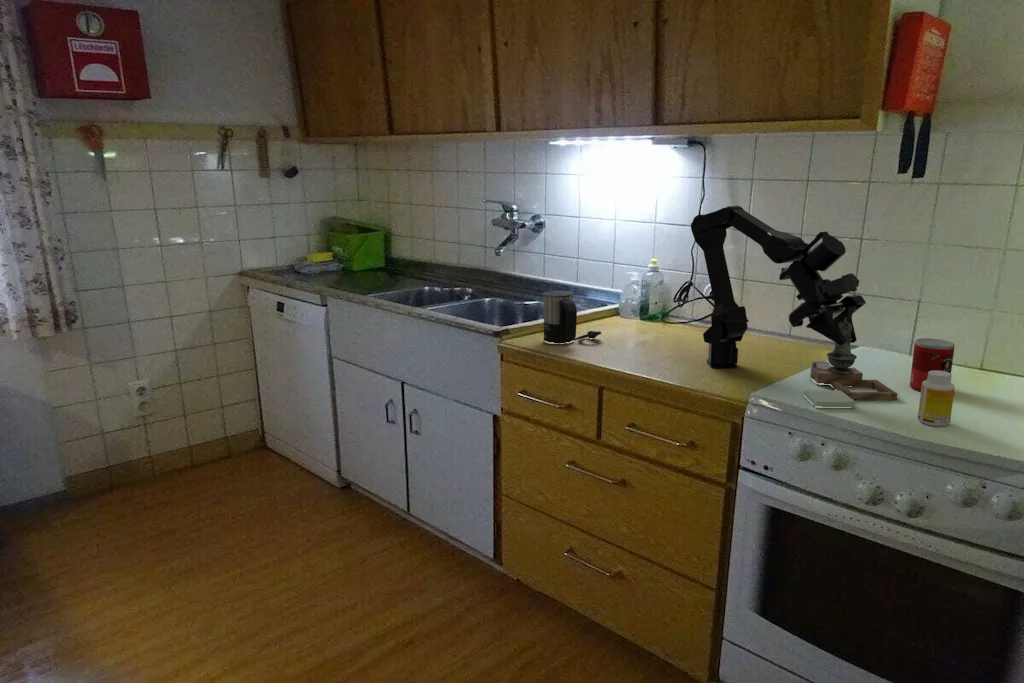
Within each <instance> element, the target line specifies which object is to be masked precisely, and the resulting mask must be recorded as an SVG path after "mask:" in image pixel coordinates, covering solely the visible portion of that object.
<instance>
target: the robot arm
mask: <svg viewBox="0 0 1024 683" xmlns="http://www.w3.org/2000/svg"><path fill="white" fill-rule="evenodd" d="M732 227H733V228H734V229H735V230H737V231H738V232H740V233H741V234H744V235H745V236H746V237H747V238H749V239H751V240H752V241H753V242H755V243H756V244H758V245H759V246H760V247H761V248H762V251H763V253H764V255H765V256H766V257H767V258H768V259H769V260H770V261H772V262H773V263H774V264H787V263H788V264H789V263H791V264H790V265H788V266H787V267H782V268H781V270H780V271H781V272H780V274H779V277H778V278H779V280H780V281H785V280H790V282H792V284H793V286H794V288H795V290H796V291H797V293H798V294H797V295H796V296H795V297H796V298H797V301H800V300H803V302H802V303H800V304H799V305H798V306H797V307H796V308H795V309H793V310H792V311H791V312H790V313H789V314H788V322H789V324H790V325H791V327H792V328H796V327H801V326H803V325H804V319H807V318H808V321H809V323H808V324H806V325H805V327H806V328H807V329H811V330H813V331H815V332H817V333H818V334H820V335H822V336H824V337H826V338H827V339H829V340H830V341H832V342H834V344H835V343H837V344H839V345H843V344H844V343H845V342H844V340H843V338H842V336H841V334H840V332H839V330H838V328H837V326H838V323H840V322H842V321H844V318H845V317H846V318H847V320H846V321H848V322H849V323H851V324H852V331H851V338H852V339H853V340H851V344H854V343H855V342H857V340H858V339H857V335H856V332H855V327H854V323H853V314H854V313H856V312H857V311H858V310H859V309H861V308H862V307H863V306H864V305H865V304H866V300H865V299H864V297H863V296H862V295H861V294H852V295H846V296H845V297H844V296H843V295H845V294H847V293H850V292H852V293H853V292H856V291H858V287H859V283H860V280H859V279H858V277H856V275H855V274H854V273H847V274H845V275H843V274H842V276H841V277H839V278H836V279H833V280H831V279H828V278H826V279H823V277H822V276H821V274H820V273H819V272H826V271H827V270H828V269H829V268H831V267H832V266H833V265H834V264H835V263H836V262H838V260H839V259H840V258H842V256H844V255H845V253H846V252H847V250H846V247H845V244H844V242H842V241H841V240H839V239H838V238H836V237H834V236H832V235H830V234H829V232H828V231H820V232H819V233H817V235H816V236H815V238H813V239H812V241H811V242H810V243H807V242H805V240H803V239H802V238H801V237H799V236H797V235H794V234H791V233H790V232H789V233H788V232H783V231H779V230H777V229H775V228H773V227H772V226H770V225H769V224H767V223H765V222H764V221H762V220H760V219H759V218H757V217H755V216H754V215H752V214H751V213H749V212H748V211H746V210H744V208H743V207H742V206H739V205H729V206H728V205H727V206H724V207H723V208H720V209H718V210H715V211H711V212H709V213H706V214H697V215H696V216H695V217H694V218H693V219H692V222H691V223H690V230H691V233H692V236H693V239H694V241H695V243H696V244H697V245H698V246H699V247H700V248H701V251H703V255H704V261H705V265H706V271H707V275H708V279H709V286H710V290H711V293H712V299H713V304H714V307H713V309H712V313H711V316H710V320H711V325H710V326H709V327H708V328H707V329H706V331H704V332H703V334H702V337H703V342H705V343H707V344H708V353H707V354H708V355H707V359H706V363H707V364H708V365H709V366H710V368H713V369H716V368H719V369H720V368H723V369H724V368H727V369H728V368H729V369H730V368H732V369H734V368H735V369H736V368H737V367H738V365H737V364H738V358H739V357H738V356H739V348H738V347H737V343H738V342H741V341H742V339H743V337H744V334H745V333H746V331H747V330H748V323H749V322H750V321H749V319H748V317H747V310H746V307H745V305H744V306H743V305H742V306H739V305H738V303H737V302H736V301H735V297H734V292H733V288H732V287H733V286H732V283H731V282H732V281H731V277H730V274H729V267H728V264H727V259H726V255H725V248H724V244H725V242H726V238H727V230H728V229H731V228H732ZM838 301H839V302H838Z"/></svg>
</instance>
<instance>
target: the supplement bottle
mask: <svg viewBox="0 0 1024 683" xmlns="http://www.w3.org/2000/svg"><path fill="white" fill-rule="evenodd" d="M955 386H956V385H955V384H954V383H953V382H952V372H951V373H948V372H945V371H936V370H934V371H929V372H928V376H927V380H925V381H923V382H922V388H921V392H920V397H919V406H918V412H917V413H918V414H917V419H918V421H919V422H920V423H922V424H924V425H927V426H933V427H947V426H948V425H950V423H951V417H952V411H953V410H952V409H953V405H954V404H953V403H954V396H955V395H954V394H955V389H956V388H955Z"/></svg>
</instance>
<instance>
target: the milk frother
mask: <svg viewBox="0 0 1024 683" xmlns="http://www.w3.org/2000/svg"><path fill="white" fill-rule="evenodd" d="M541 294H542V296H543V297H542V298H543V300H542V301H543V305H542V306H543V340H545V341H548V342H554V343H565V342H570V341H572V340H574V341H578V340H582V339H586V338H588V339H589V338H594V339H595V338H596V337H598V336H599V335H602V332H601V331H597V330H596V331H595V330H589V331H587V333H586V334H584V335H580V336H578V337H576V336H577V322H578V321H577V318H578V317H577V315H578V311H577V306H576V303H575V302H574V298H573V296H574V294H575V293H574V292H573V291H569V290H568V291H567V290H550V291H545V292H542V293H541Z"/></svg>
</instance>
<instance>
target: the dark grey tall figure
mask: <svg viewBox="0 0 1024 683" xmlns="http://www.w3.org/2000/svg"><path fill="white" fill-rule="evenodd" d="M846 320H847V318H846V317H845V318H844V321H842V322H840V323H838V326H837V328H838V330H839V332H840V334H841V336H842V338H843V340H844V342H845V343H844V344H843V345H839V344H837V343H835V342H834V345H835V346H834V349H833V351H830V352H828V353H826V356H827V360H828V363H829V365H831V366H832V367H830V368H828V369H827V371H828V372H829V373H832V374H837V375H851V374H853V373H854V372H853V371H852V370H851V369H849V368H851V366H853V365H854V363H855V361H856V359H857V357H858V356H857V355H856V354H853V353H852V351H851V344H852V342H851V340H853V339H852V338H851V331H852V324H851V323H849V322H848V321H846Z"/></svg>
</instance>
